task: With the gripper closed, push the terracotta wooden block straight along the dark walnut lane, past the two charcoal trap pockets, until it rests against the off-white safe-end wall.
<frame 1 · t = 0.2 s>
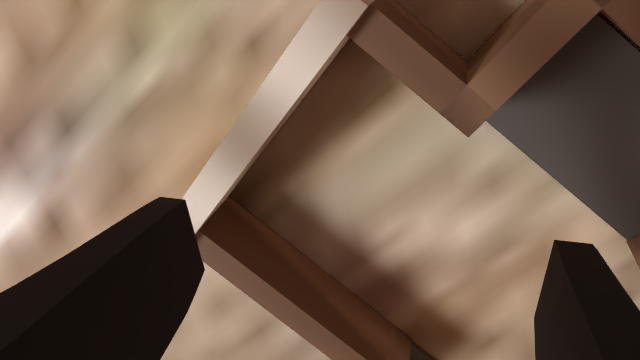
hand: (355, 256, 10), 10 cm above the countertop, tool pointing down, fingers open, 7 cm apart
trap lane: (542, 323, 22), on the countertop
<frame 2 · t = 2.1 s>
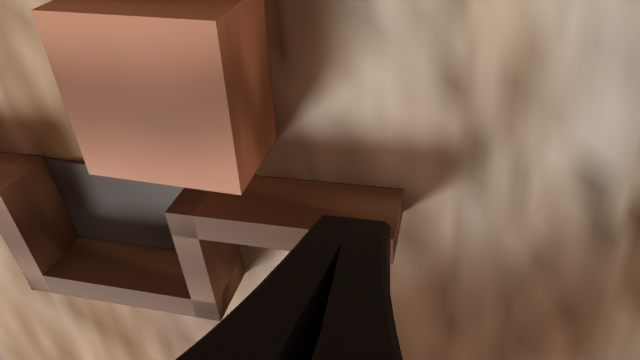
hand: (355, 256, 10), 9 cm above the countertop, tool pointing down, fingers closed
block: (197, 61, 20), resting in trap lane
trap lane: (61, 58, 21), on the countertop
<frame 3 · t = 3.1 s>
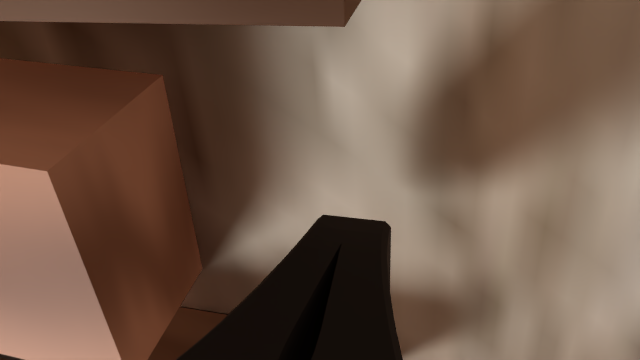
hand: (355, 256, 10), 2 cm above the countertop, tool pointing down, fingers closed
block: (86, 165, 14), resting in trap lane
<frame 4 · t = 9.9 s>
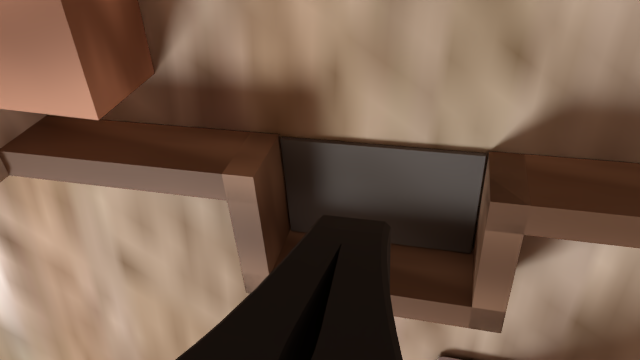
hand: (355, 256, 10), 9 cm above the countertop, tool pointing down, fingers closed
trap lane: (350, 9, 17), on the countertop
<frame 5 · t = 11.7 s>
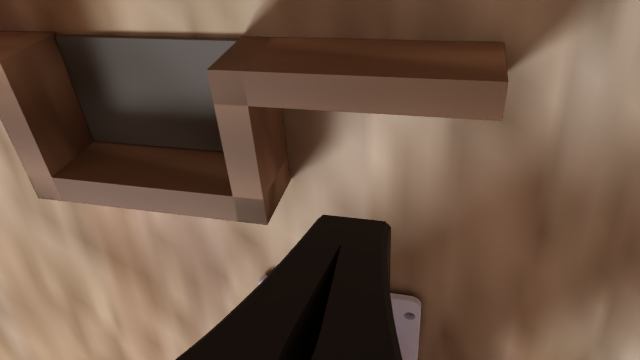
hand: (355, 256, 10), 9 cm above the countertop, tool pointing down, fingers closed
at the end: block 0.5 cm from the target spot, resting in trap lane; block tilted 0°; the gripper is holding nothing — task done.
